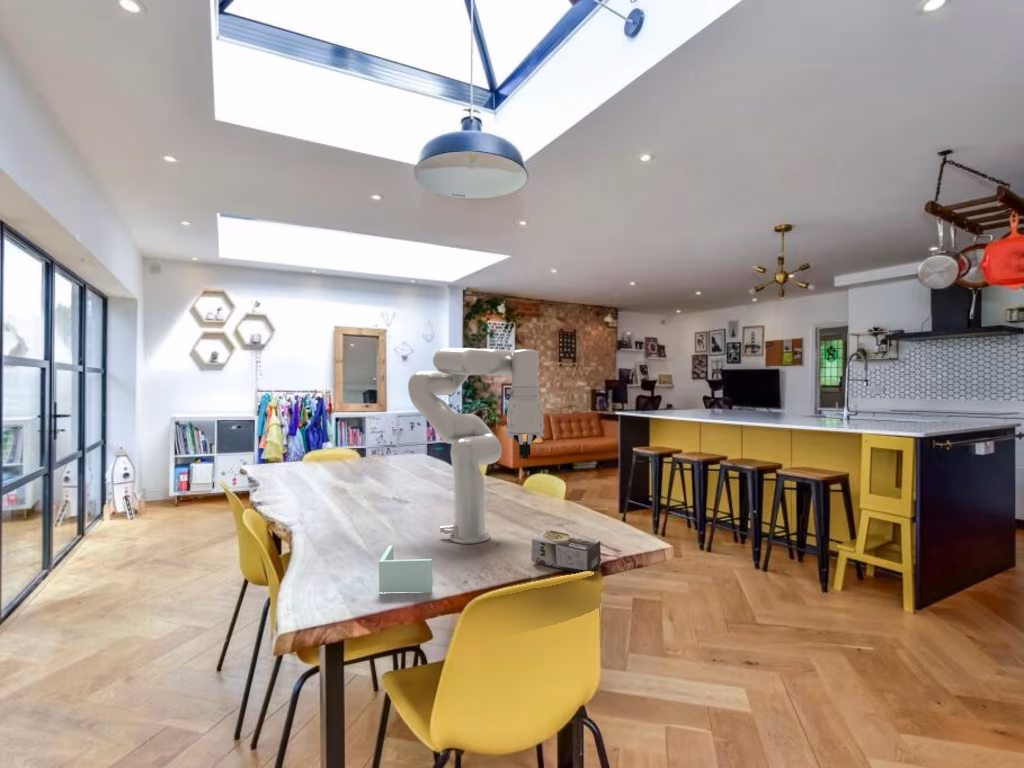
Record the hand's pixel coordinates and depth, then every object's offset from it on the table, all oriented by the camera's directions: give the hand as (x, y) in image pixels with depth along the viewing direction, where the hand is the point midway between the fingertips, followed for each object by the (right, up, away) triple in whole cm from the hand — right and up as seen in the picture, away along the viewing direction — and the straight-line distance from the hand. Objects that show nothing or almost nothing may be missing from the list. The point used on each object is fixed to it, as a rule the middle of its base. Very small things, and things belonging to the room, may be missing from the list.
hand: (524, 457), depth 143 cm
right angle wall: (-28, -28, -21) cm, 45 cm away
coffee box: (+4, -23, -5) cm, 24 cm away
